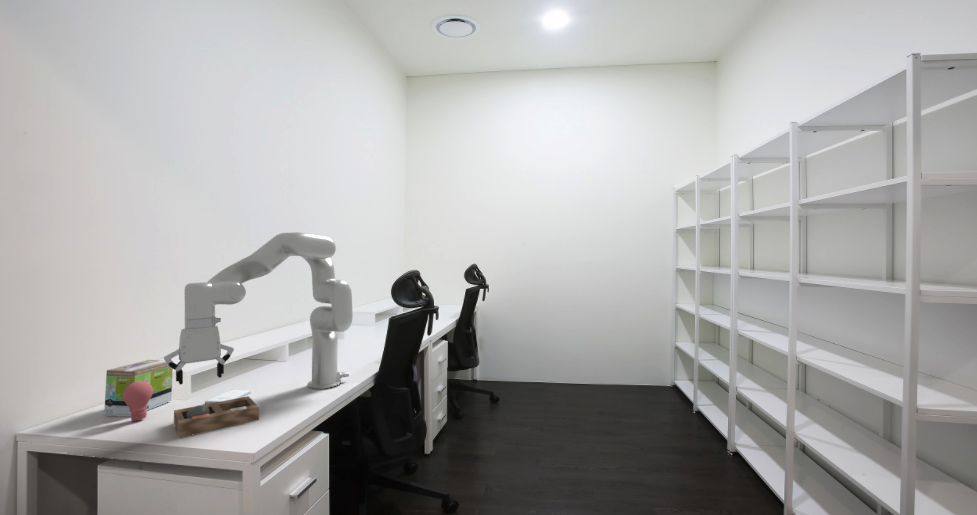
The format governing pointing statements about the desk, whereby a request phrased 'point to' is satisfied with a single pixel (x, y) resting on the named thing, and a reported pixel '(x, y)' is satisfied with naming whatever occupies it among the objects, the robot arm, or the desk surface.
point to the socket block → (217, 416)
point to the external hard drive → (229, 396)
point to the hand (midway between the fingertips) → (200, 379)
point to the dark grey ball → (197, 411)
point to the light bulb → (138, 399)
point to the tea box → (145, 371)
